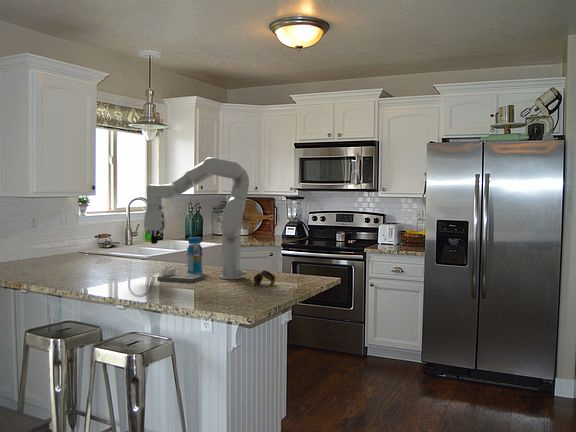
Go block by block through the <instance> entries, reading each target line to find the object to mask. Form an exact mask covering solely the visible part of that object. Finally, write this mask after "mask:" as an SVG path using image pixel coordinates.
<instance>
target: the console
mask: <svg viewBox="0 0 576 432" xmlns="http://www.w3.org/2000/svg"><path fill="white" fill-rule="evenodd" d="M204 279H205V275H204V274H198V275H195V274H188V273H176V272H175V274H173V275H159V276H157V281H158V282H171V283H172V282H173V283H174V282H176V283H189V284H190V283H191V284H193V283H197V282H199V281H201V280H204Z"/></svg>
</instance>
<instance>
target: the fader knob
mask: <svg viewBox="0 0 576 432" xmlns="http://www.w3.org/2000/svg"><path fill="white" fill-rule="evenodd" d="M161 273H162V275H173V274H175V273H176V267H173V266H169V267H165V268H162V270H161ZM162 275H161V276H162Z"/></svg>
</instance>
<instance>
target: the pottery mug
mask: <svg viewBox="0 0 576 432" xmlns="http://www.w3.org/2000/svg"><path fill="white" fill-rule="evenodd" d="M264 278H265V279H267V280H268V281H270V283H269V286H270V287H273V286H274V284H275V283H276V282H275V281H276V280H275V279H276V276H275V275H274V274H273V273H271V272H270V271H267V270H262V272H261V271H260V272H259V273H257V274H255V275H254V276H253V281H254V283H253V285H254V286H255V287H256V286H260V285H261V282H262V281H263V279H264Z"/></svg>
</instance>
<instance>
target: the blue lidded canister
mask: <svg viewBox="0 0 576 432" xmlns="http://www.w3.org/2000/svg"><path fill="white" fill-rule="evenodd" d="M187 241H188V244H189V245H188V247H187V249H186V251H187V253H186V257H187V259H186V260H187V273H186V274H195V275H203V256H204V254H203V247H202V246H201V244H202V238H201V236H191V237H188V240H187Z"/></svg>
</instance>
